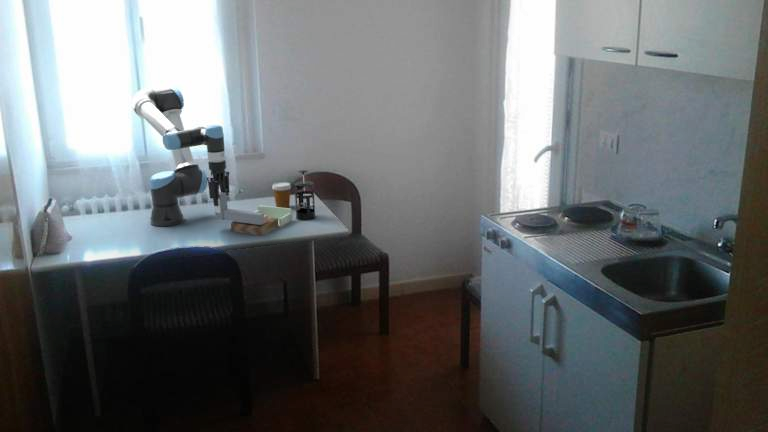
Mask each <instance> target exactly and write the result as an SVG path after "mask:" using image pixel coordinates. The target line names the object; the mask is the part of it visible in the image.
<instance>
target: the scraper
mask: <svg viewBox="0 0 768 432" xmlns="http://www.w3.org/2000/svg"><path fill="white" fill-rule="evenodd" d="M219 199H220V206H221V213H216V212H215V211H214V214H215V220H219V221H226V222H227V221H228V222H233V221H235V222H242V223H250V224H258V225H261V224H263V223H264V213H257V212H255V211H247V210H240V209H239V210H238V209H231V208H228V197H227V196H226V192H221V191H219Z"/></svg>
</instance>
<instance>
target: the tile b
mask: <svg viewBox="0 0 768 432" xmlns="http://www.w3.org/2000/svg"><path fill="white" fill-rule="evenodd" d="M266 222H268V215H264V223H266ZM264 223H263V224H264ZM261 225H262V224H261Z"/></svg>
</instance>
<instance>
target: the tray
mask: <svg viewBox="0 0 768 432" xmlns="http://www.w3.org/2000/svg"><path fill="white" fill-rule="evenodd" d="M254 212H257V213H264V215H268V217H270V218H278V224H279V227H278V228H282V227H284V226H287V225H289V223H291V222H293V209H292V208H290V207H289V208H281V207H276V206H269V205H260V204H259V205H257V210H255V211H254Z"/></svg>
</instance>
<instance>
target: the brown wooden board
mask: <svg viewBox="0 0 768 432" xmlns="http://www.w3.org/2000/svg"><path fill="white" fill-rule="evenodd" d="M277 228H280V227H279V224H278V218H270V217H268V222H266V223H264V224H262V225H258V224H250V223H242V222H235V221H230V231H231V232H235V233H241V234H242V233H243V234H249V235H251V234H252V235H258V236H265V235H267V234H268V233H270V232H272V231H274V230H276V229H277ZM266 233H267V234H266Z"/></svg>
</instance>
